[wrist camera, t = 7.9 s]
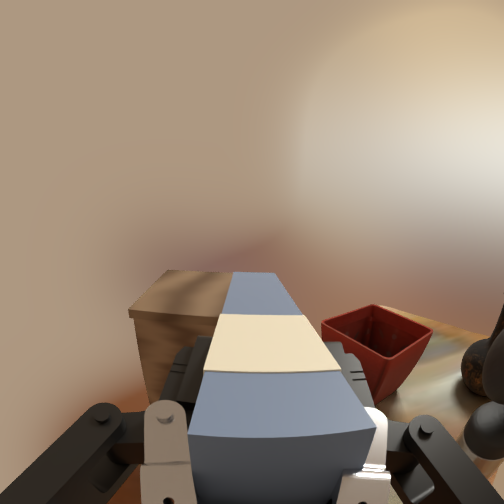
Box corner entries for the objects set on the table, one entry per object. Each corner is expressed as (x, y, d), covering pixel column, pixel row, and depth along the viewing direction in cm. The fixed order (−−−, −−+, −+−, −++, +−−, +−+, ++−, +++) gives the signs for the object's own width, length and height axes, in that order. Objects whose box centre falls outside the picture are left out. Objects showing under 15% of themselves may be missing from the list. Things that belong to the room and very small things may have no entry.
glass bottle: (505, 375, 53) (537, 284, 46) (506, 411, 40) (552, 305, 33) (457, 363, 64) (484, 271, 58) (449, 397, 51) (488, 290, 45)
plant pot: (361, 357, 73) (373, 302, 69) (414, 388, 57) (435, 329, 53) (309, 382, 64) (319, 320, 60) (366, 425, 48) (389, 360, 44)
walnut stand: (240, 429, 49) (242, 273, 41) (234, 485, 35) (233, 318, 28) (184, 423, 49) (167, 269, 42) (168, 477, 36) (128, 309, 28)
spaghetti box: (273, 312, 29) (275, 272, 29) (342, 519, 5) (379, 424, 5) (232, 311, 29) (233, 271, 29) (199, 525, 5) (184, 432, 5)
